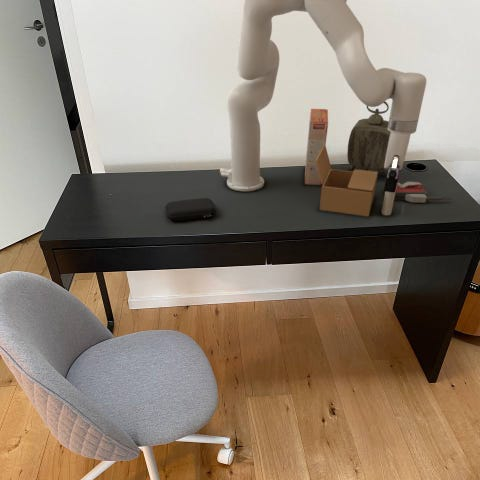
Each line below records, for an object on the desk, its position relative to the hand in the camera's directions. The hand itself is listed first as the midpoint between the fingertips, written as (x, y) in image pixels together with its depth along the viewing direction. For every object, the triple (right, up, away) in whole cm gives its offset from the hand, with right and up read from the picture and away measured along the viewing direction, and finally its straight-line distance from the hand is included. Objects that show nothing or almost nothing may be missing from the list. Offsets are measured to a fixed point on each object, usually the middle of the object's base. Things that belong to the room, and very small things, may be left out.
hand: (390, 184), depth 144 cm
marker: (0, -7, +6) cm, 9 cm away
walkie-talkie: (+12, 0, +14) cm, 19 cm away
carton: (-10, -3, +11) cm, 15 cm away
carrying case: (-59, -8, +7) cm, 60 cm away
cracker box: (-19, +10, +27) cm, 34 cm away
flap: (-19, +8, +5) cm, 21 cm away
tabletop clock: (0, +10, +28) cm, 30 cm away
